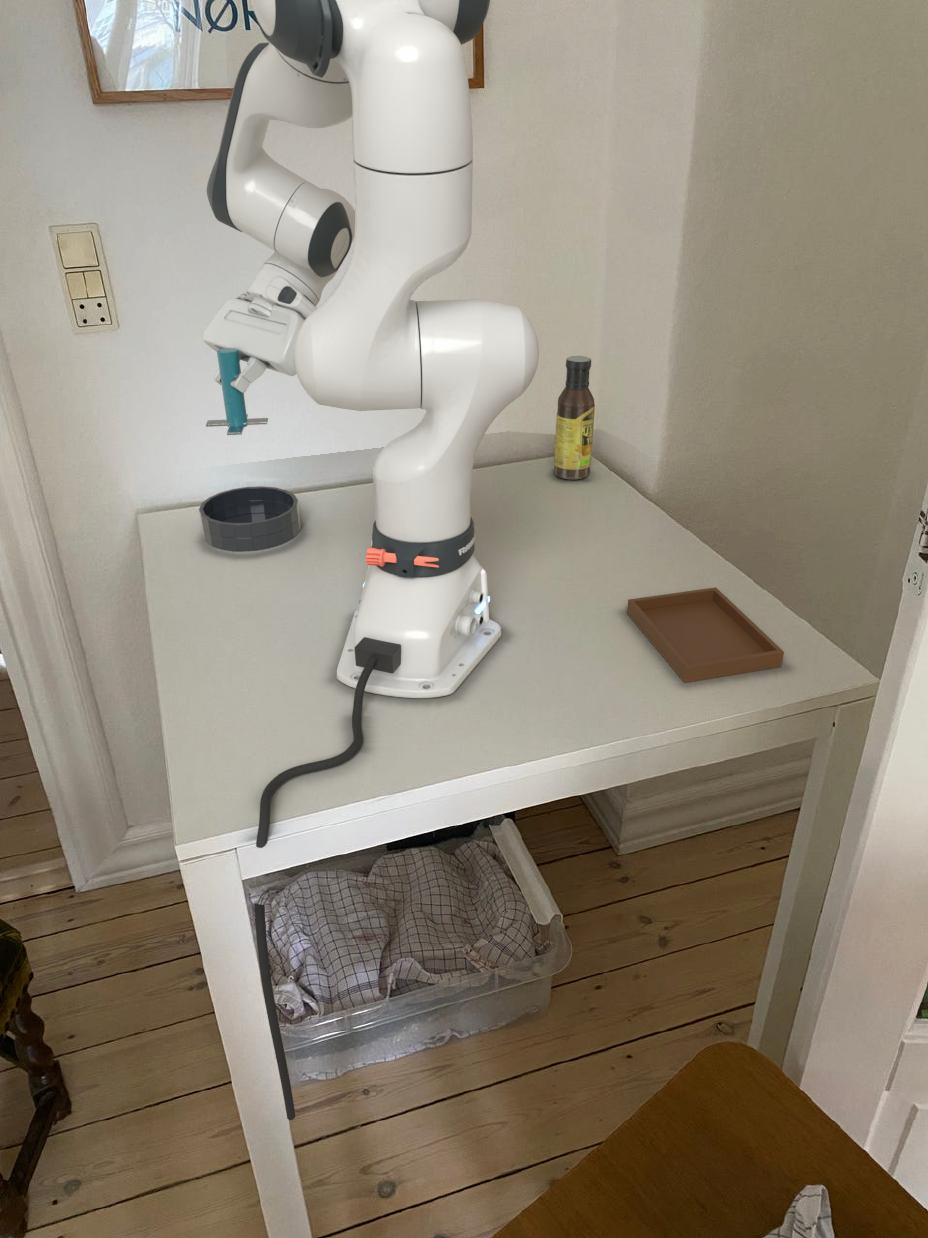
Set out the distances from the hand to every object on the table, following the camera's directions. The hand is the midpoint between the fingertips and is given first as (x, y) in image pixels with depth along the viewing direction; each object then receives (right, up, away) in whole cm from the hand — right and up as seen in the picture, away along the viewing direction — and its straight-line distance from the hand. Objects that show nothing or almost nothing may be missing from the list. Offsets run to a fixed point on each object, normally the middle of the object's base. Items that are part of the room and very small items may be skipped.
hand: (228, 386), depth 126 cm
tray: (+61, -34, -15) cm, 72 cm away
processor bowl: (+1, -19, +12) cm, 23 cm away
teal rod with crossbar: (0, -5, +3) cm, 6 cm away
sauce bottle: (+51, -7, +32) cm, 61 cm away
